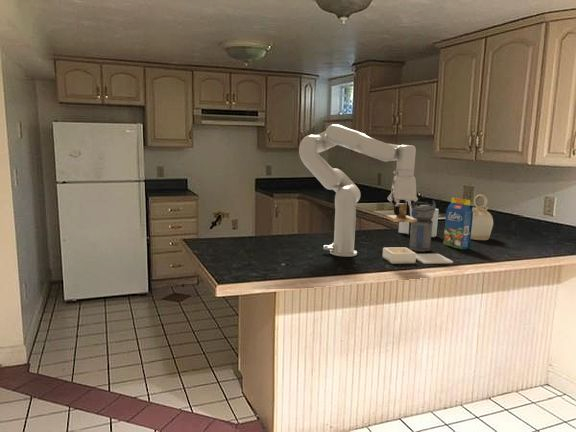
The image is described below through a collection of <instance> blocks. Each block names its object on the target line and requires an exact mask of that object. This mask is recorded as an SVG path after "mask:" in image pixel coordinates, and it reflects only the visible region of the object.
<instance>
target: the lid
mask: <svg viewBox="0 0 576 432" xmlns="http://www.w3.org/2000/svg"><path fill="white" fill-rule="evenodd" d="M398 206H399V215H395V214H393V215H392V214H391V215H390V214H389V215H388V214H386V215H385V219H388V221H389V220H390V221H391V222H394V223H399V222H417V219H415V218H412V217H410V216H407V215H406V210H407V204H406V203H401V202H399V204H398Z"/></svg>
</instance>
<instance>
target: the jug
mask: <svg viewBox="0 0 576 432" xmlns="http://www.w3.org/2000/svg"><path fill="white" fill-rule="evenodd" d="M479 198H482V199H483V204H482V205H479V203H478V200H479ZM473 205H474V207H471V209H472V211H473V220H472V230H471V240H475V241H476V240H477V241H488V240H489V239H490V237H491V233H492V231H493V228H494V218H493V215H492V214H491V213H490V212H489V211H488V210H489V207H488V206H487V205H488V198H487V196H486V195H484V194H477V195H476V196H475V197H474V199H473Z"/></svg>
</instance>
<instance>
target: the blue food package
mask: <svg viewBox="0 0 576 432" xmlns="http://www.w3.org/2000/svg"><path fill="white" fill-rule="evenodd" d="M472 220H473V211H472V207H471V199H464V198H459V197H451V202H450V204H448V207H446V211H445V223H444V232H443V233H444V234H443V242H442V244H443V245H445V246H447V247H452V248H454V249H457V250H468V249H470V248H471V247H470V246H471V240H472V239H471V230H472Z"/></svg>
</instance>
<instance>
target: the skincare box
mask: <svg viewBox="0 0 576 432" xmlns="http://www.w3.org/2000/svg"><path fill="white" fill-rule="evenodd" d="M439 212H440V211H439V208H436V209H435V211H434V214H433V218H432V219H431V221H433V225H432V233H431V238H435V237H437V232H438V231H437V230H438V222H439V221H438V219H439ZM411 213H412V208H411V207H410V217H412V215H411ZM412 218H413V217H412ZM398 233H400V234H407V235H408V234H409V222H398ZM410 234H411V231H410Z"/></svg>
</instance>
